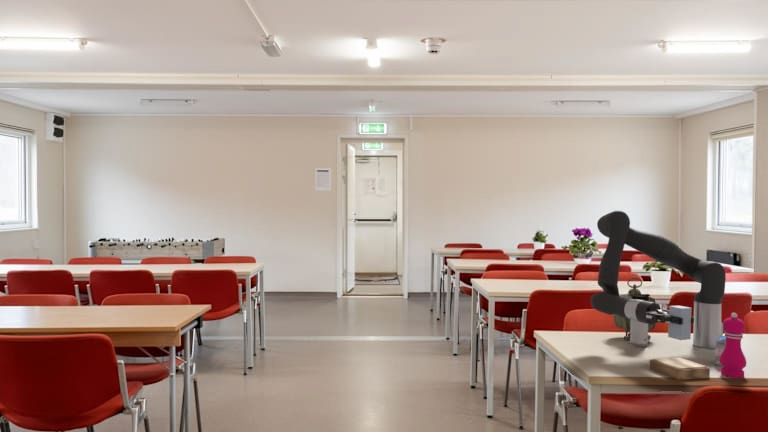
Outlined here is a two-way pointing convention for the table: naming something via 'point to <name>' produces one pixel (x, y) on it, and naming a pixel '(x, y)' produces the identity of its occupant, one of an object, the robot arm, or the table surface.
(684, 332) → the slate-blue block
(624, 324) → the tabletop clock
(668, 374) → the block
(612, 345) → the table surface
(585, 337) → the table surface
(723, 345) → the label tape box
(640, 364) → the table surface
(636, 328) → the travel mug
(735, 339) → the pepper mill
